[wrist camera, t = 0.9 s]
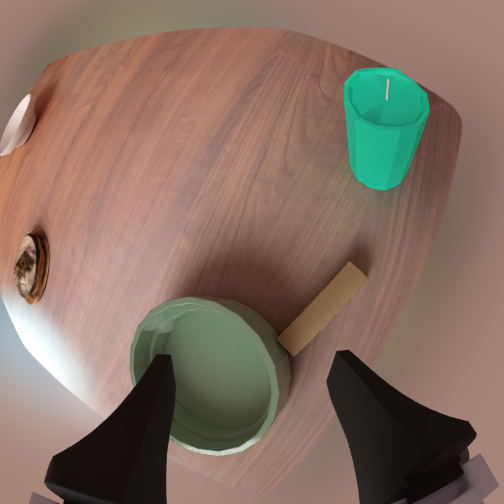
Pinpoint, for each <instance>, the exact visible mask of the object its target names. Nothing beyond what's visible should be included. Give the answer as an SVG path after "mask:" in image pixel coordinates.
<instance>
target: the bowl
mask: <svg viewBox="0 0 504 504" xmlns="http://www.w3.org/2000/svg"><path fill="white" fill-rule="evenodd" d="M34 106H35V101H34V98H33V97H32V95H31V94H28V95H27V96H26V97H25V98H24V99H23V100H22V101H21V102H20V104H19V105H18V107H17V108H16V110H15V111H14V113H13V115H12V117H11V118H10V120H9V122H8V125H7V127H6V129H5V131H4V134H3V136H2V139H1V143H0V156H4V155H7V154H10V153H11V152H12V151H13V149H14V148H16V147H19V146H22V145H23V144H24V143H25V142H26V140H27V139H28V137H29V135H30V133H31V131H32V129H33V127H34V124H35V121H36V116H35V113H34Z"/></svg>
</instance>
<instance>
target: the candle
mask: <svg viewBox="0 0 504 504" xmlns="http://www.w3.org/2000/svg"><path fill="white" fill-rule="evenodd" d="M344 106H345V115H346V125H347V136H348V149H349V164H350V167H351V169H352V171H353V173H354V175H355V177H356V179H357V180H359V181H360V182H362V183H363V184H364V185H366V186H367V187H369V188H372V189H379V190H388V189H390V188H393V187H395V186H398V185H399V184H400V183H401V182H402V180H403V179H404V177H405V176H406V174H407V172H408V170H409V167H410V165H411V162H412V160H413V157H414V155H415V152H416V149H417V147H418V144H419V141H420V138H421V136H422V133H423V130H424V127H425V124H426V121H427V118H428V115H429V112H430V108H429V102H428V96H427V93H426V92H425V91H424V90H423V89H422V88H421V87H420V86H419V85H418V84H417V83H415V82H414V81H413V80H412V79H410V78H409V77H408V76H406V75H405V74H403V73H402V72H401V71H399V70H398V69H396V68H367V69H359V70H355V72H354V73H353V74H352V75H351V76H350V77H349V78H348V80H347V81H346V82H345V84H344Z"/></svg>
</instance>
